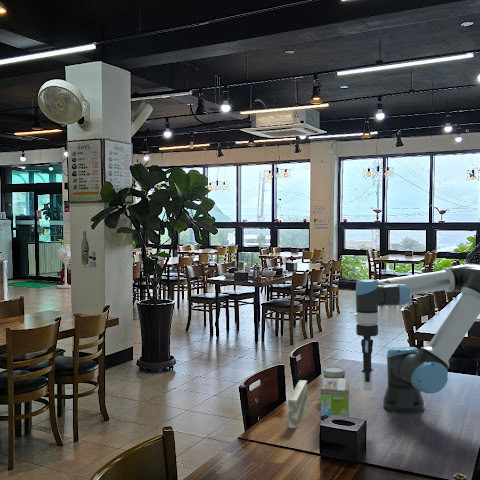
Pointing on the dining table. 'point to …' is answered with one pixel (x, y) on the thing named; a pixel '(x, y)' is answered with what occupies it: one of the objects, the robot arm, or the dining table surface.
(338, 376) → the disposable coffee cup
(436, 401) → the dining table surface
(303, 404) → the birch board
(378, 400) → the dining table surface
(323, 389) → the tea box
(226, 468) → the dining table surface
